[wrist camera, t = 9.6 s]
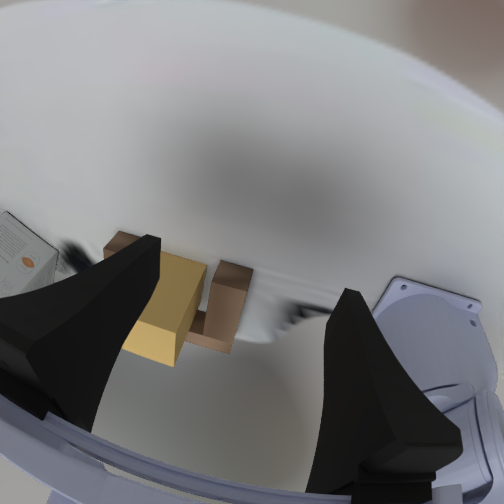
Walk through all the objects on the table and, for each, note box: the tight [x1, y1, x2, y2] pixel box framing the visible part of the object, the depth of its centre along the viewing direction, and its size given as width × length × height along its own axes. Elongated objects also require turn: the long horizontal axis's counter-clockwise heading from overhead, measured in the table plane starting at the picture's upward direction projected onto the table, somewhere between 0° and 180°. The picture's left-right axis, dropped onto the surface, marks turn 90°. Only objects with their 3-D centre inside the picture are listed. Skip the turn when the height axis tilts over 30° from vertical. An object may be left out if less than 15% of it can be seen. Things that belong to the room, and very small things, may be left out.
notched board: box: [103, 231, 253, 354], centre depth 25 cm, size 11×8×2 cm
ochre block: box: [122, 251, 207, 367], centre depth 23 cm, size 4×4×7 cm
